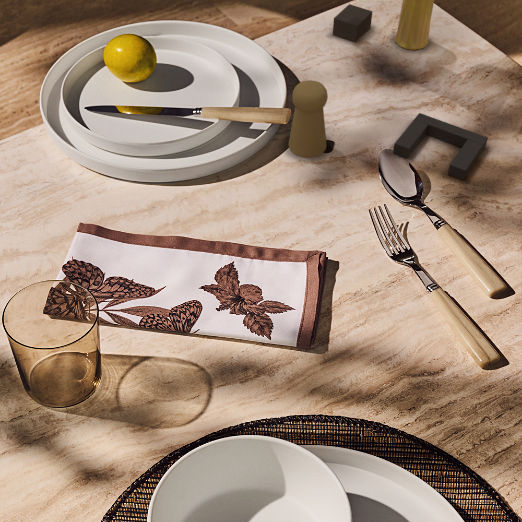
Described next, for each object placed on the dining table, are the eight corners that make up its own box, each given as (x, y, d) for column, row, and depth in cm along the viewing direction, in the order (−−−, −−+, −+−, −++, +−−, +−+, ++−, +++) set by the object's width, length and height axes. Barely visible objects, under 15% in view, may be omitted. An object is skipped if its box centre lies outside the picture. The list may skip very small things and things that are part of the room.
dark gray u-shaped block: (485, 147, 107) (488, 137, 105) (462, 180, 102) (465, 170, 100) (417, 122, 111) (419, 112, 110) (392, 153, 106) (394, 143, 105)
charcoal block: (370, 28, 130) (372, 11, 127) (355, 42, 127) (357, 25, 124) (347, 20, 132) (349, 3, 129) (332, 35, 128) (333, 18, 126)
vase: (409, 28, 130) (421, -46, 119) (434, 41, 127) (450, -34, 116) (388, 40, 127) (398, -34, 116) (414, 54, 124) (427, -22, 113)
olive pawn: (309, 162, 105) (313, 104, 97) (280, 146, 108) (281, 87, 99) (334, 144, 108) (339, 85, 99) (305, 127, 111) (307, 69, 102)
